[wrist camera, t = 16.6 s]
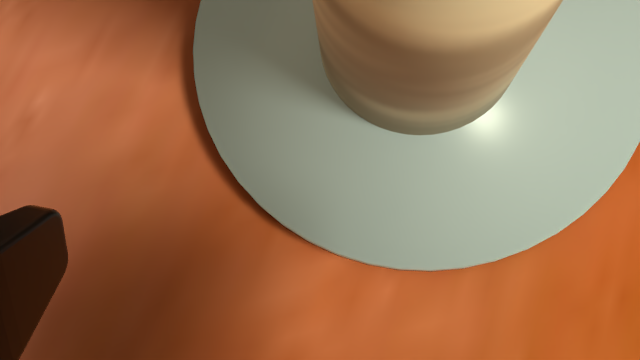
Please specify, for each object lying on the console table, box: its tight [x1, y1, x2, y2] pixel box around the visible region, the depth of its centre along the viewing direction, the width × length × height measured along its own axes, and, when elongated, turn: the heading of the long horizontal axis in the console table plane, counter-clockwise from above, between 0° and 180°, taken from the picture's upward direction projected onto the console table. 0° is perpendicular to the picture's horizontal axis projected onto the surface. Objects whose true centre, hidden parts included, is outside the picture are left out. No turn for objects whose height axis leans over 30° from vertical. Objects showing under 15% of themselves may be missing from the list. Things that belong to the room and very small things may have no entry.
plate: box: [193, 0, 640, 272], centre depth 18 cm, size 13×13×1 cm
